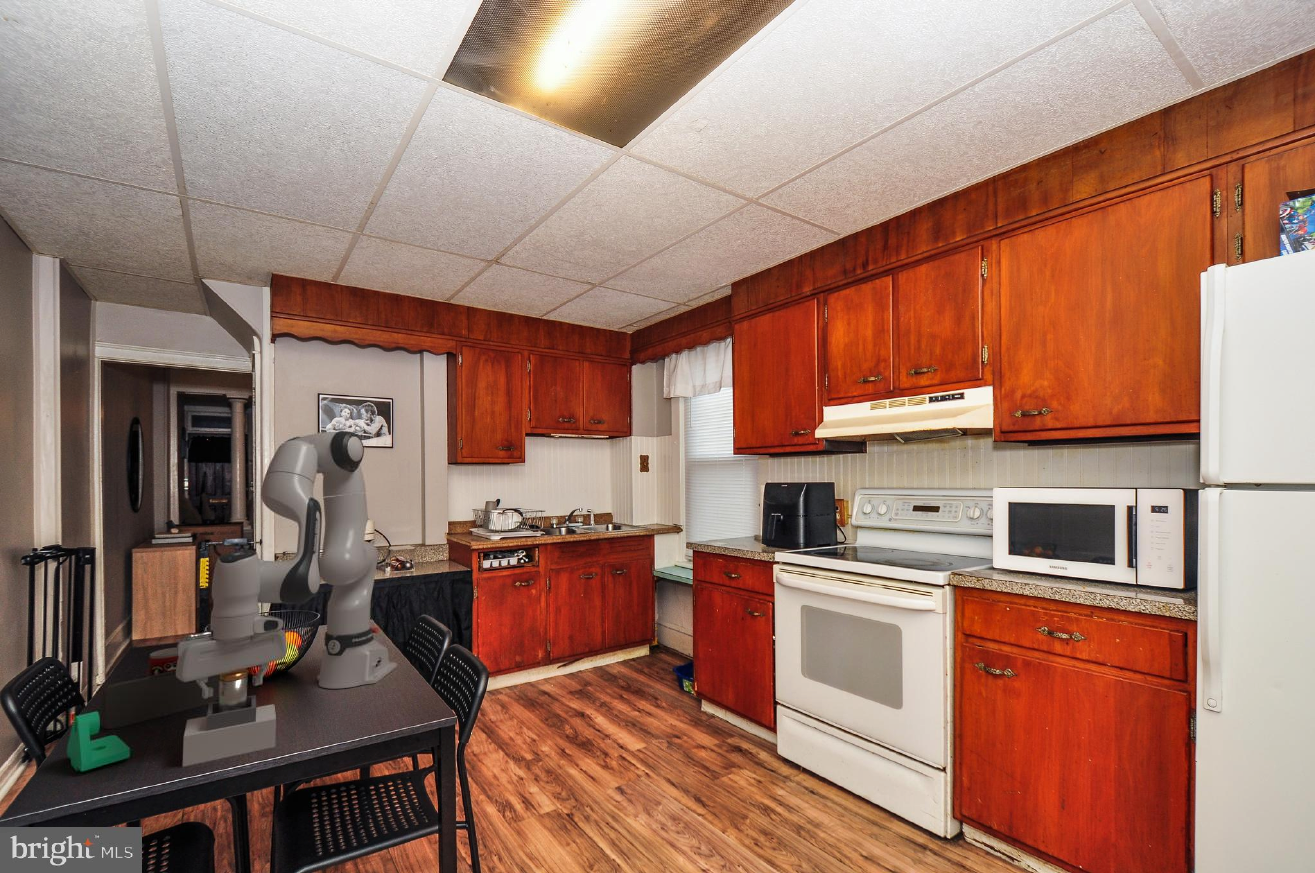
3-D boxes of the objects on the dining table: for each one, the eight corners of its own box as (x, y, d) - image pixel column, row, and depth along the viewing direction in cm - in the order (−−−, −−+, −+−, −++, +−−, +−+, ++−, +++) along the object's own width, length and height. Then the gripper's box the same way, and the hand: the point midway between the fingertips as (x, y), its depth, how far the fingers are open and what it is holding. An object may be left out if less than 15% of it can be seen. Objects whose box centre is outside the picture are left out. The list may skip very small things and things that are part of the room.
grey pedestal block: (182, 766, 125) (184, 721, 125) (186, 748, 133) (188, 705, 134) (275, 746, 134) (276, 704, 134) (273, 730, 142) (274, 690, 143)
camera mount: (130, 762, 127) (133, 711, 128) (81, 777, 121) (83, 723, 122) (114, 746, 134) (116, 698, 135) (66, 759, 128) (69, 709, 129)
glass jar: (225, 715, 136) (227, 669, 137) (250, 713, 137) (251, 668, 137) (213, 724, 131) (214, 676, 132) (238, 723, 132) (240, 675, 132)
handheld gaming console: (215, 699, 161) (217, 660, 162) (219, 702, 160) (221, 662, 160) (99, 729, 143) (102, 685, 144) (102, 732, 142) (104, 687, 142)
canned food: (140, 698, 162) (142, 656, 162) (163, 687, 170) (165, 647, 170) (170, 698, 162) (171, 655, 162) (192, 687, 170) (193, 647, 170)
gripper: (182, 639, 125) (180, 709, 124) (290, 619, 141) (289, 680, 141) (172, 634, 128) (169, 701, 128) (278, 615, 145) (276, 675, 144)
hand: (233, 690), depth 134 cm, fingers open, 8 cm apart
